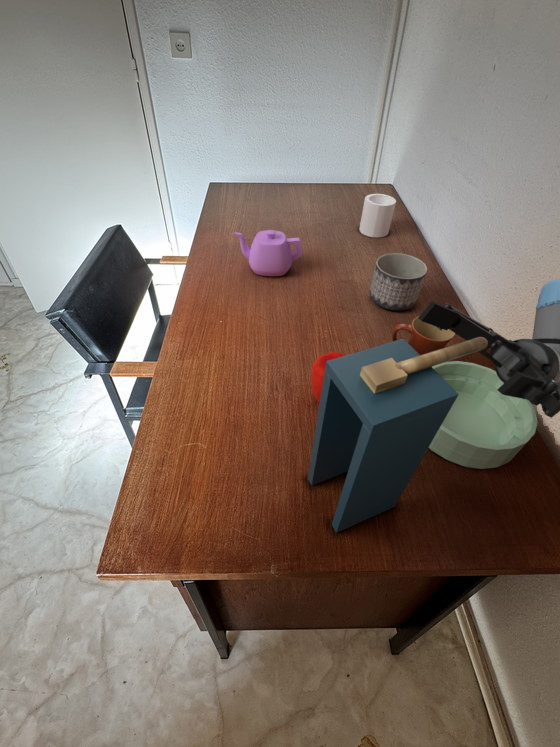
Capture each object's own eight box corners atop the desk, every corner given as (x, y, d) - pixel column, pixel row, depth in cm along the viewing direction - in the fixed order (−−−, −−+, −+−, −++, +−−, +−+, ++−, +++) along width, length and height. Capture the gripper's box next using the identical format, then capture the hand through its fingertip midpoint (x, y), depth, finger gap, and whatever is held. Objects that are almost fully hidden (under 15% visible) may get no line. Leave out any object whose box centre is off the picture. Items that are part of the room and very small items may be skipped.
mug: (438, 353, 86) (453, 318, 79) (440, 379, 80) (457, 344, 73) (385, 344, 88) (396, 309, 81) (384, 369, 82) (395, 334, 75)
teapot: (237, 255, 116) (235, 219, 108) (301, 257, 116) (303, 222, 108) (232, 278, 107) (230, 241, 99) (302, 280, 107) (304, 243, 99)
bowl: (542, 447, 69) (564, 425, 64) (455, 488, 63) (472, 466, 58) (464, 373, 82) (477, 350, 77) (385, 401, 76) (394, 377, 71)
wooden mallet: (473, 339, 47) (478, 329, 45) (491, 354, 45) (497, 344, 44) (359, 375, 42) (362, 365, 41) (374, 394, 40) (377, 384, 39)
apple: (342, 423, 72) (351, 386, 64) (301, 407, 74) (304, 369, 66) (356, 393, 77) (366, 355, 69) (318, 378, 80) (323, 340, 72)
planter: (371, 283, 106) (378, 249, 99) (416, 291, 104) (427, 257, 97) (365, 308, 98) (373, 273, 90) (414, 317, 96) (427, 282, 88)
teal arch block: (395, 506, 60) (459, 394, 40) (336, 533, 57) (373, 425, 37) (362, 456, 67) (403, 338, 46) (307, 478, 63) (326, 361, 43)
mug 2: (369, 218, 137) (375, 188, 129) (396, 225, 133) (403, 195, 126) (354, 232, 129) (359, 200, 121) (381, 240, 125) (389, 208, 118)
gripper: (584, 447, 50) (524, 448, 37) (456, 336, 66) (383, 310, 53) (636, 409, 47) (590, 395, 34) (488, 301, 62) (418, 264, 49)
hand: (463, 343), depth 43 cm, fingers open, 13 cm apart
